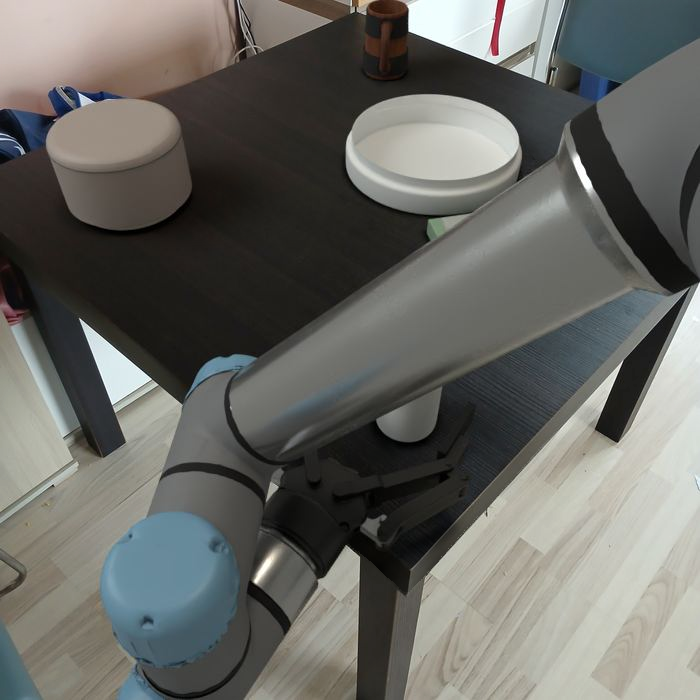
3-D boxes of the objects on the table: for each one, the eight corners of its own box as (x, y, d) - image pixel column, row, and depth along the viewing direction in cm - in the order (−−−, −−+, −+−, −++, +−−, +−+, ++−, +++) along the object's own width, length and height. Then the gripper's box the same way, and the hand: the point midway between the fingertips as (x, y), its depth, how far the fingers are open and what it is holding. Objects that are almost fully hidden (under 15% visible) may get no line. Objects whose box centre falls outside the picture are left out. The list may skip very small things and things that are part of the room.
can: (442, 440, 69) (457, 363, 60) (382, 448, 68) (387, 372, 60) (427, 392, 73) (438, 314, 65) (370, 399, 73) (373, 322, 64)
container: (129, 154, 107) (109, 84, 98) (218, 186, 101) (206, 114, 92) (42, 212, 96) (12, 138, 87) (137, 252, 90) (114, 176, 81)
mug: (359, 89, 122) (360, 23, 114) (364, 60, 130) (365, -3, 122) (406, 91, 122) (410, 24, 113) (407, 62, 130) (412, -2, 121)
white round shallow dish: (393, 234, 93) (395, 201, 89) (319, 142, 109) (318, 111, 105) (553, 190, 100) (561, 158, 96) (461, 110, 117) (465, 79, 113)
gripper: (176, 505, 61) (306, 359, 73) (417, 654, 52) (518, 459, 64) (158, 459, 55) (302, 310, 68) (425, 617, 47) (534, 412, 59)
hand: (408, 382), depth 66 cm, fingers open, 13 cm apart
